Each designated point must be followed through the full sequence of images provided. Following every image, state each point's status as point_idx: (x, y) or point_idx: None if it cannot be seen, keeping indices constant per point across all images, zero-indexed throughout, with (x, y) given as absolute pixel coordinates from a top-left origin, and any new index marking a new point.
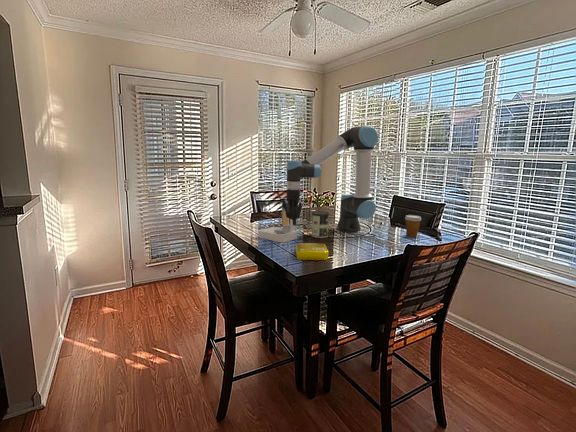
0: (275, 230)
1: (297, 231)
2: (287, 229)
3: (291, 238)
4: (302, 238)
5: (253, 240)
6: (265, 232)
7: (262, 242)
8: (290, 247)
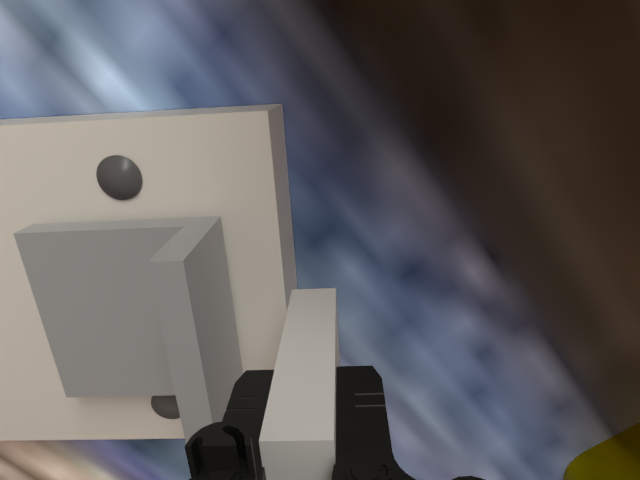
0: (88, 393)
1: (268, 119)
2: (222, 336)
3: (290, 245)
4: (349, 76)
5: (55, 476)
6: (26, 436)
7: (160, 473)
8: (461, 439)
